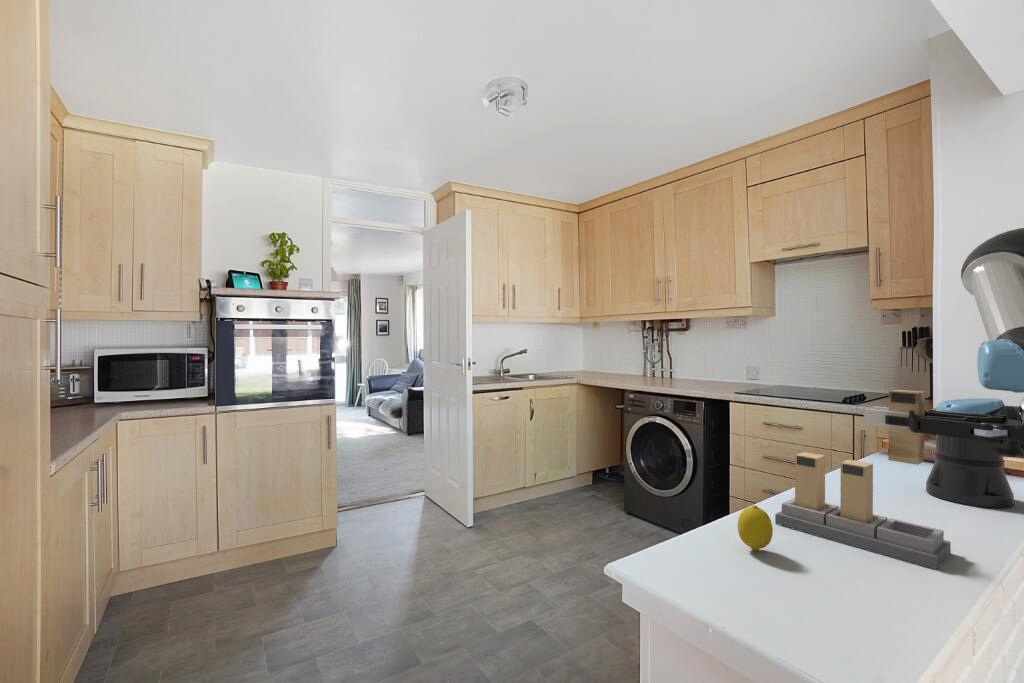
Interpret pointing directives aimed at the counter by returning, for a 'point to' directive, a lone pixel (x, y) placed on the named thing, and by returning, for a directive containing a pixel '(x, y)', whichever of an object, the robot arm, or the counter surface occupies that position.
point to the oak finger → (904, 441)
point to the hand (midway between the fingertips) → (869, 415)
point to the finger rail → (856, 515)
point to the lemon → (755, 527)
